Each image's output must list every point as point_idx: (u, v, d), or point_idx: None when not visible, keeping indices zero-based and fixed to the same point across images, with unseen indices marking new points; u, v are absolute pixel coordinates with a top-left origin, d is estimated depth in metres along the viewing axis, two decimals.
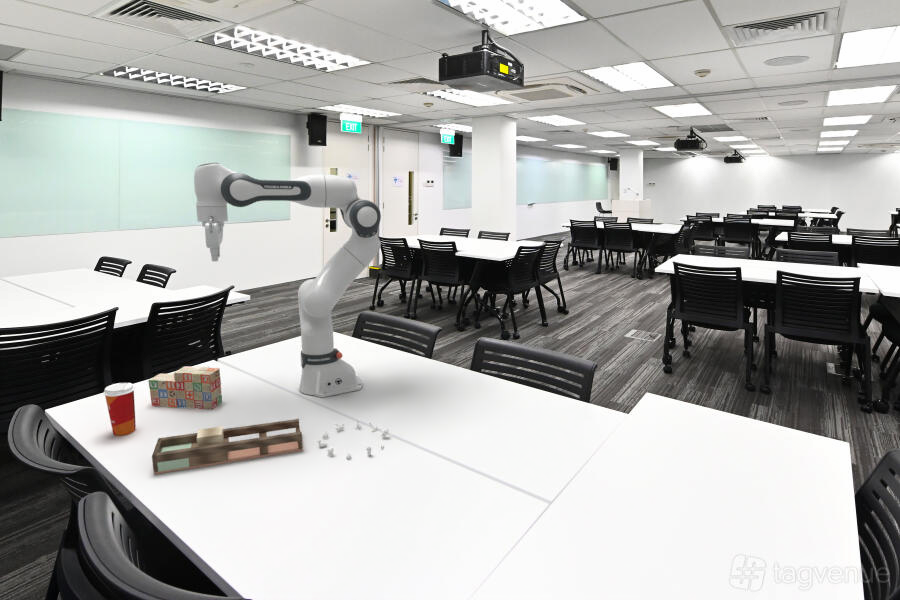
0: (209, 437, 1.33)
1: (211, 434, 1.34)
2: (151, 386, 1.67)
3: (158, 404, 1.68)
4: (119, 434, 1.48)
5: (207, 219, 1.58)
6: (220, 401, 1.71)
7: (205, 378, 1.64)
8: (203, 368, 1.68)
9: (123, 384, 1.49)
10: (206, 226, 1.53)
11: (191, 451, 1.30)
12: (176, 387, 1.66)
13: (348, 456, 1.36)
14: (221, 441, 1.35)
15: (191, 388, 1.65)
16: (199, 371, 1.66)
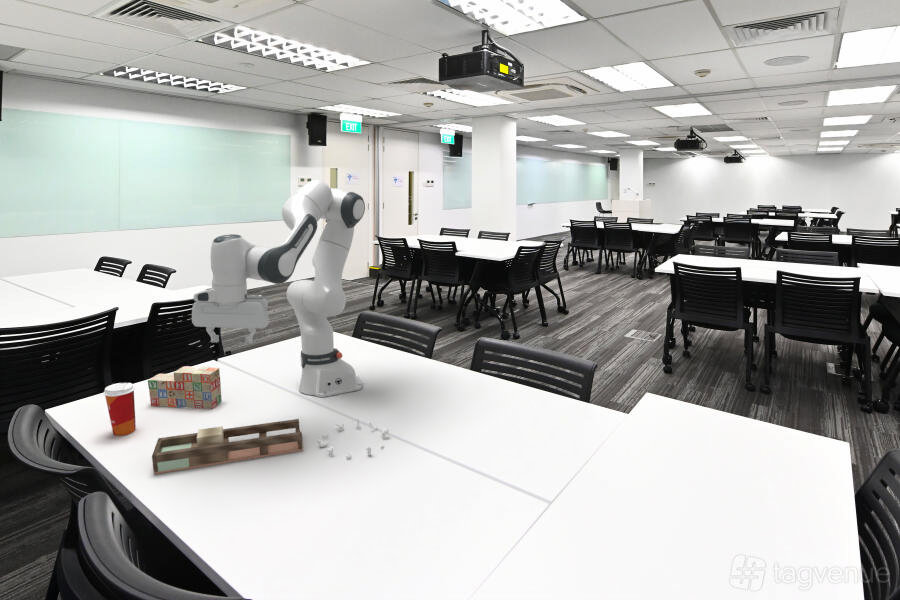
0: (209, 437, 1.33)
1: (211, 434, 1.34)
2: (150, 386, 1.67)
3: (157, 404, 1.68)
4: (119, 434, 1.48)
5: (243, 298, 1.40)
6: (220, 401, 1.71)
7: (205, 378, 1.65)
8: (203, 368, 1.68)
9: (123, 384, 1.49)
10: (261, 305, 1.40)
11: (191, 451, 1.30)
12: (175, 387, 1.66)
13: (348, 456, 1.36)
14: (221, 441, 1.35)
15: (191, 388, 1.66)
16: (199, 371, 1.66)
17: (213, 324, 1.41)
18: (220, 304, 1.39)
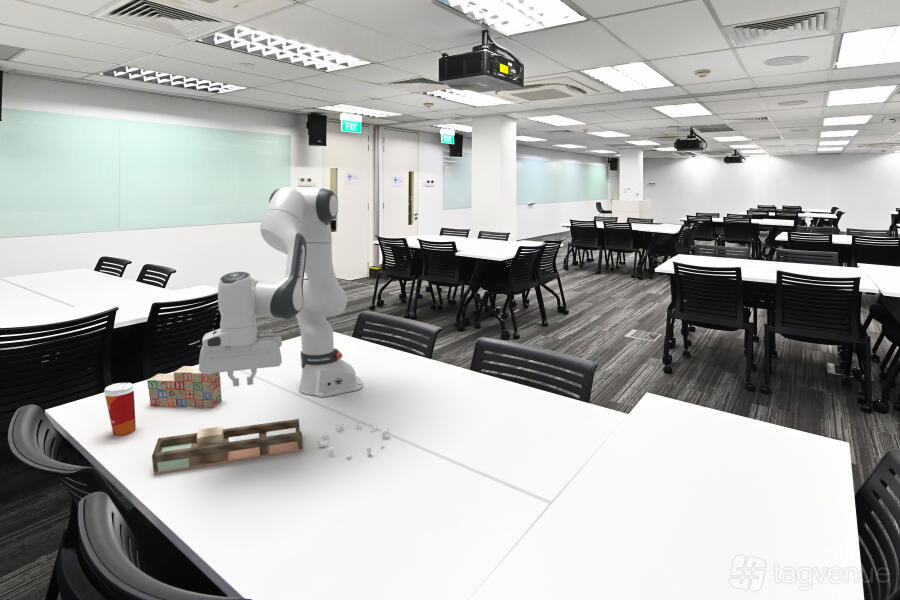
0: (209, 437, 1.33)
1: (211, 434, 1.34)
2: (150, 386, 1.67)
3: (157, 404, 1.68)
4: (119, 434, 1.48)
5: (256, 338, 1.34)
6: (220, 400, 1.72)
7: (205, 378, 1.65)
8: None
9: (123, 384, 1.49)
10: (277, 343, 1.36)
11: (191, 451, 1.30)
12: (175, 387, 1.66)
13: (348, 456, 1.36)
14: (221, 441, 1.35)
15: (191, 388, 1.66)
16: None
17: (224, 369, 1.32)
18: (233, 347, 1.31)
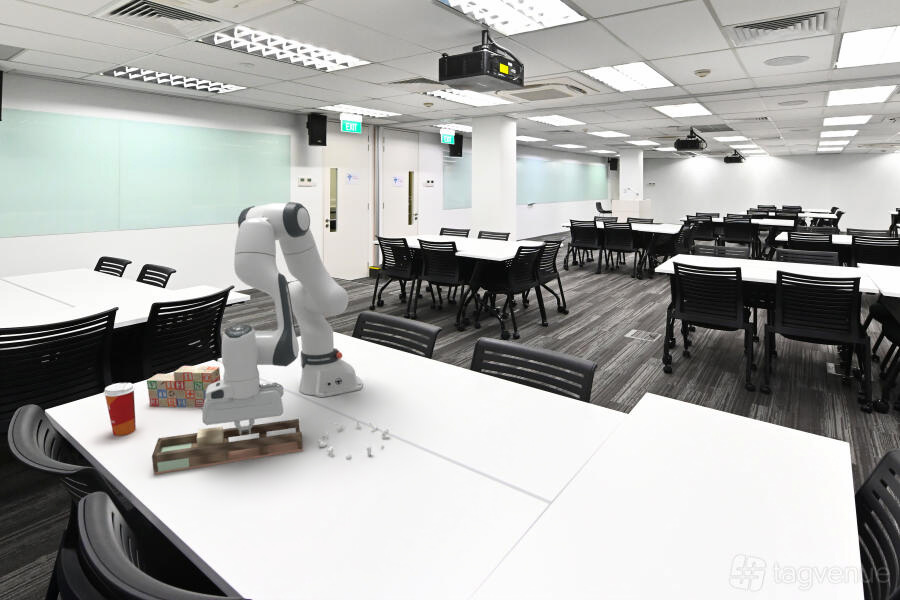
0: (209, 437, 1.33)
1: (211, 434, 1.34)
2: (149, 386, 1.66)
3: (157, 404, 1.68)
4: (119, 434, 1.48)
5: (259, 389, 1.37)
6: None
7: (206, 377, 1.66)
8: (203, 367, 1.69)
9: (123, 384, 1.49)
10: (278, 393, 1.39)
11: (191, 451, 1.30)
12: (176, 386, 1.66)
13: (348, 456, 1.36)
14: (221, 441, 1.35)
15: (192, 387, 1.66)
16: (199, 370, 1.67)
17: (227, 420, 1.35)
18: (236, 399, 1.34)
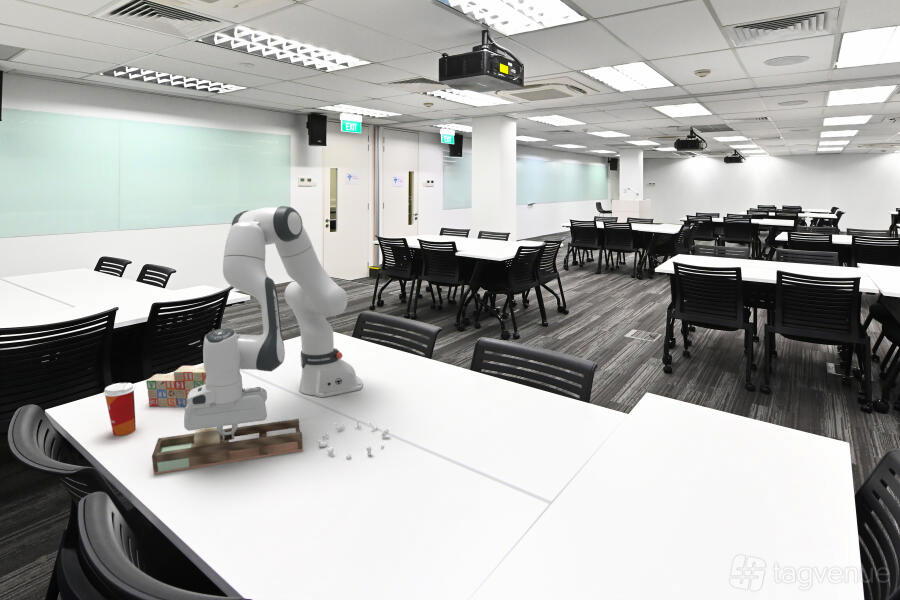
0: (206, 437, 1.33)
1: (208, 435, 1.34)
2: (149, 386, 1.66)
3: (156, 404, 1.68)
4: (119, 434, 1.48)
5: (242, 393, 1.35)
6: None
7: None
8: (203, 367, 1.70)
9: (123, 384, 1.49)
10: (262, 397, 1.37)
11: (191, 451, 1.30)
12: (176, 386, 1.66)
13: (348, 456, 1.36)
14: (218, 441, 1.35)
15: (192, 387, 1.67)
16: (199, 369, 1.68)
17: (209, 425, 1.33)
18: (218, 404, 1.32)
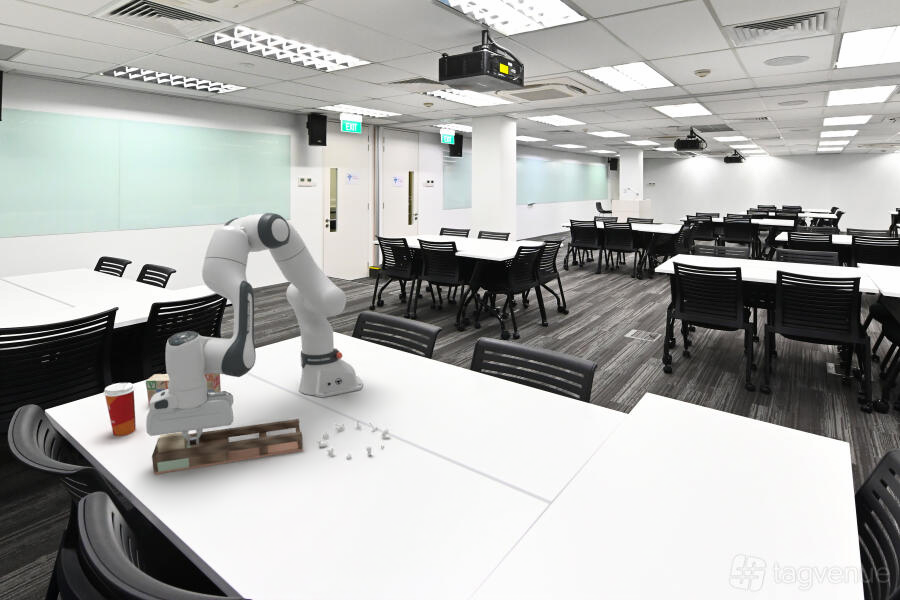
0: (170, 443, 1.30)
1: (172, 440, 1.31)
2: (148, 387, 1.66)
3: None
4: (119, 434, 1.48)
5: (206, 398, 1.32)
6: None
7: (207, 376, 1.67)
8: None
9: (123, 384, 1.49)
10: (228, 402, 1.34)
11: (191, 451, 1.30)
12: None
13: (348, 456, 1.36)
14: (183, 447, 1.32)
15: None
16: None
17: (173, 430, 1.30)
18: (181, 409, 1.29)
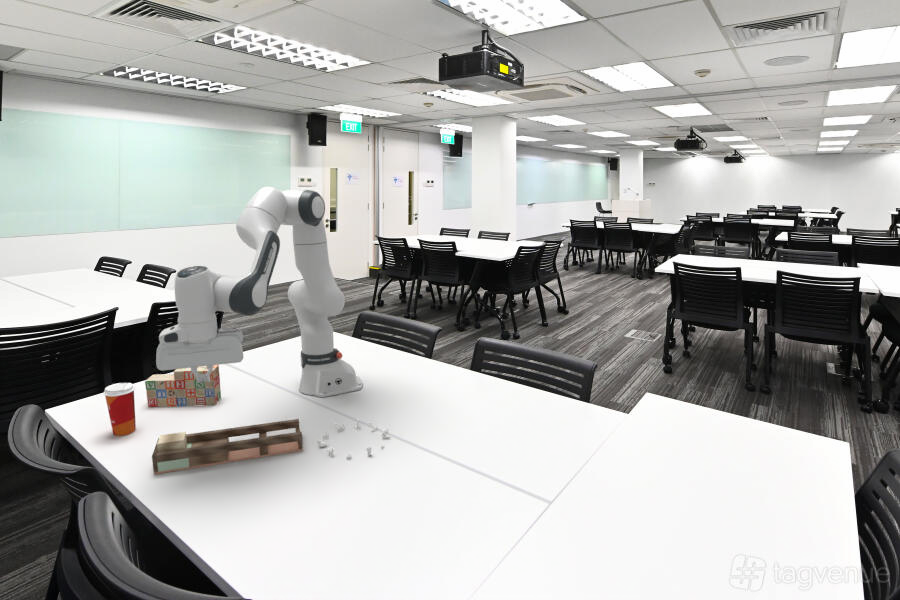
0: (170, 443, 1.30)
1: (172, 440, 1.31)
2: (148, 387, 1.66)
3: (155, 405, 1.67)
4: (119, 434, 1.48)
5: (216, 333, 1.31)
6: (220, 397, 1.75)
7: None
8: (202, 366, 1.71)
9: (123, 384, 1.49)
10: (237, 338, 1.33)
11: (191, 451, 1.30)
12: (176, 386, 1.67)
13: (348, 456, 1.36)
14: (183, 447, 1.31)
15: (193, 386, 1.68)
16: (200, 368, 1.69)
17: (183, 365, 1.29)
18: (191, 343, 1.28)
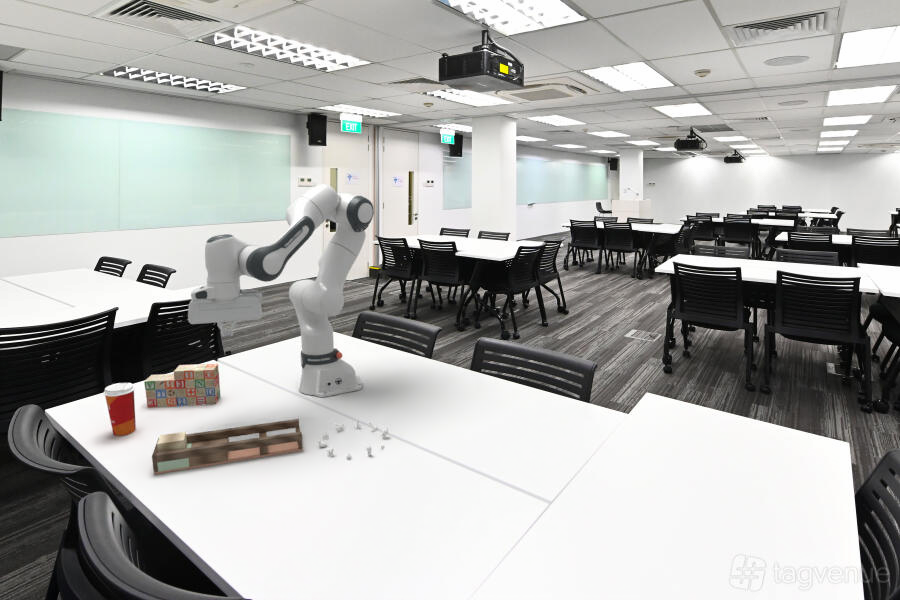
0: (170, 443, 1.30)
1: (172, 440, 1.31)
2: (147, 387, 1.66)
3: (155, 405, 1.67)
4: (119, 434, 1.48)
5: (239, 293, 1.51)
6: (219, 396, 1.75)
7: (208, 374, 1.68)
8: (202, 365, 1.71)
9: (123, 384, 1.49)
10: (258, 298, 1.53)
11: (191, 451, 1.30)
12: (176, 385, 1.67)
13: (348, 456, 1.36)
14: (183, 447, 1.31)
15: (193, 385, 1.68)
16: (200, 368, 1.69)
17: (210, 320, 1.49)
18: (218, 300, 1.48)
